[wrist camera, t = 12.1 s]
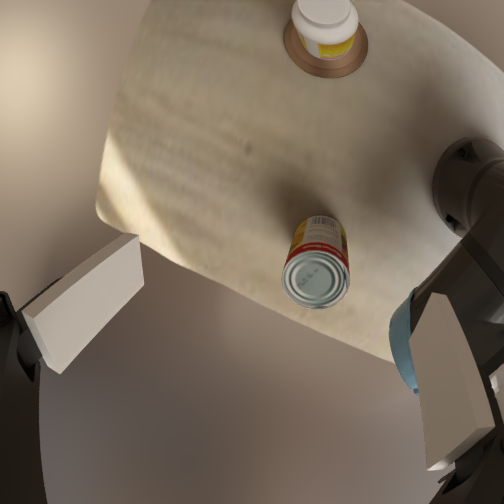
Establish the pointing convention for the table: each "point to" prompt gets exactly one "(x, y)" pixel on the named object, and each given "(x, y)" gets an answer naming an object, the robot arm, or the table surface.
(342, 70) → the plinth
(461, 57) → the table surface
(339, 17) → the supplement bottle
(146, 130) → the table surface
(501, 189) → the robot arm
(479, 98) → the table surface
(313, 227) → the canned food
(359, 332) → the table surface
